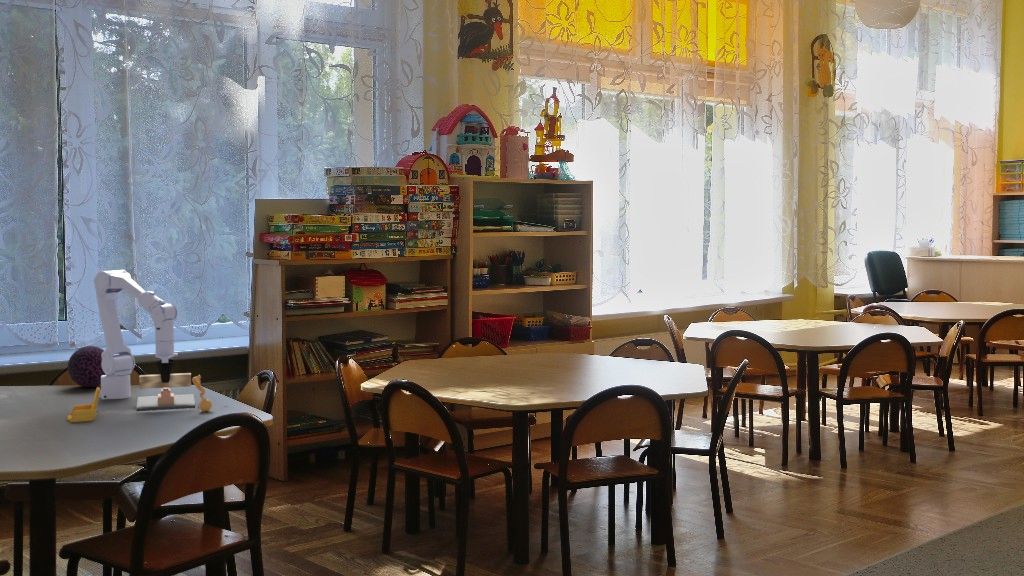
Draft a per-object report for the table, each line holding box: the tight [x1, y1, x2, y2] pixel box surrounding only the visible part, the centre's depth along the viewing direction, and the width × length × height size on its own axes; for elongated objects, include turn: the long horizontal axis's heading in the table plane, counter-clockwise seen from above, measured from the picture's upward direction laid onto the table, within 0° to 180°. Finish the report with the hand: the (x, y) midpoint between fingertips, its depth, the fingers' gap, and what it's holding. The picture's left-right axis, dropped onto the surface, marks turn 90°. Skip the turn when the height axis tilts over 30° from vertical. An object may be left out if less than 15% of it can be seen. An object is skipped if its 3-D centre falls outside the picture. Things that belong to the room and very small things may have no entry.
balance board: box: [135, 387, 196, 412], centre depth 339 cm, size 18×20×6 cm
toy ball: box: [67, 345, 105, 388], centre depth 371 cm, size 15×15×15 cm
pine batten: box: [138, 372, 192, 390], centre depth 336 cm, size 16×3×4 cm, turn 109°
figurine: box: [191, 374, 213, 413], centre depth 326 cm, size 8×6×12 cm
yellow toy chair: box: [67, 386, 101, 423], centre depth 316 cm, size 10×10×9 cm
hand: (165, 381), depth 336 cm, fingers closed on pine batten, 3 cm apart
